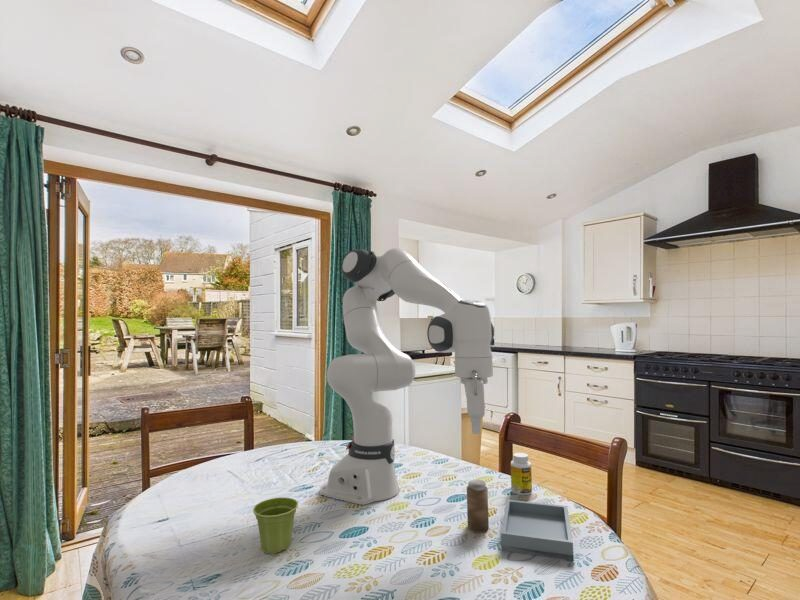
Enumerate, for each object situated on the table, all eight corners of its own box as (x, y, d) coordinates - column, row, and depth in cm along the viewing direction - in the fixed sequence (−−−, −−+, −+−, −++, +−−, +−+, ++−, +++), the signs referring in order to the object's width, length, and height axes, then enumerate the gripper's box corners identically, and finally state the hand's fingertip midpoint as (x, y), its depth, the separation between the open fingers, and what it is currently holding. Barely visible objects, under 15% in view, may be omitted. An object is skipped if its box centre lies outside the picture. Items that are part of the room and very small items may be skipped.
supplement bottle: (522, 498, 114) (521, 459, 115) (507, 491, 119) (505, 454, 119) (536, 492, 117) (535, 455, 118) (520, 486, 122) (519, 450, 122)
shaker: (466, 530, 97) (464, 485, 98) (469, 521, 102) (468, 478, 102) (487, 533, 96) (486, 487, 96) (489, 523, 101) (488, 479, 101)
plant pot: (262, 535, 97) (262, 497, 98) (303, 535, 97) (302, 496, 97) (246, 558, 88) (246, 516, 88) (291, 558, 88) (291, 515, 88)
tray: (501, 550, 89) (501, 533, 89) (507, 513, 105) (506, 499, 105) (573, 560, 85) (572, 542, 85) (567, 521, 101) (567, 506, 101)
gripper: (490, 374, 90) (492, 440, 89) (484, 363, 110) (486, 417, 109) (460, 374, 91) (462, 440, 90) (460, 363, 111) (461, 417, 110)
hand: (475, 427), depth 100 cm, fingers open, 8 cm apart
